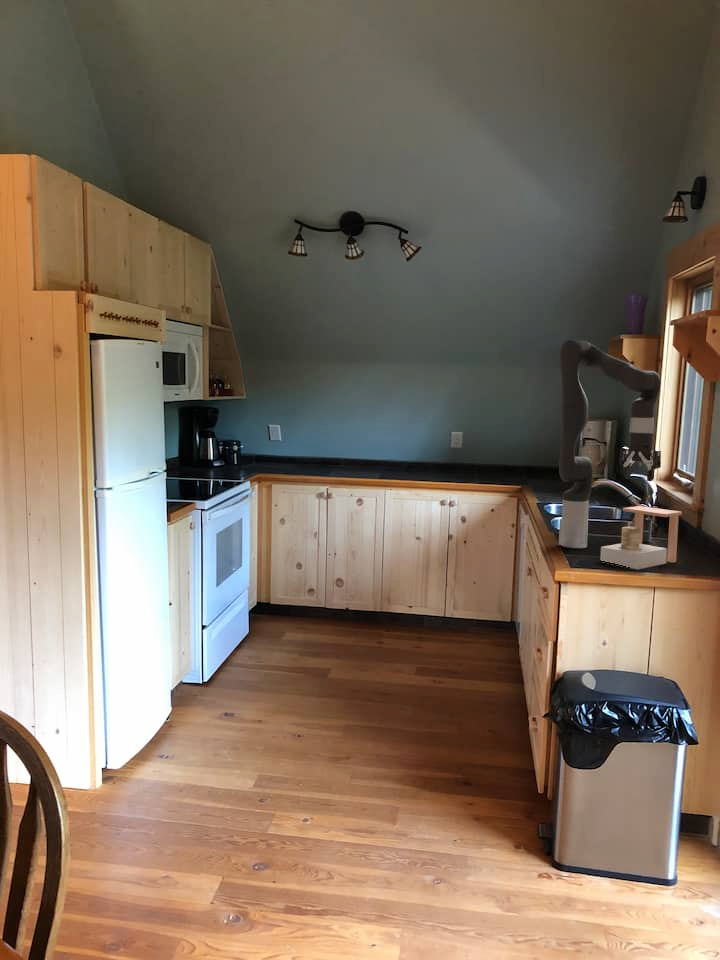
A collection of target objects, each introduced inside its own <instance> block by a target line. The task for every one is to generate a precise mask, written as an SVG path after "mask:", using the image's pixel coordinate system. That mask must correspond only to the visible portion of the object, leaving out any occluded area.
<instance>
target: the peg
mask: <svg viewBox="0 0 720 960" xmlns="http://www.w3.org/2000/svg"><path fill="white" fill-rule="evenodd" d="M639 537H640V528H637V527H633V526H629V525H627V526H623V527H621V540H620V541H621V542H620V544H621V549H626V550H631V551H634V550H639Z"/></svg>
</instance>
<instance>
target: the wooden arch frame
mask: <svg viewBox="0 0 720 960" xmlns="http://www.w3.org/2000/svg"><path fill="white" fill-rule="evenodd" d="M622 511H623V512H627V513H628V512H629V513H633V514H634V517H635V526H634V527H637V528H640V537H639V544H643V543H642V537H643V517H644V514H647V515H650V516H655V517H663V518H668V517H669V520H668V521H669V522H668V523H669V524H668V537H667V538H668V540H667V556H666V563H668V562H669V563H676V562H677V550H678V533H679V532H678V530H679V517H680V516H681V515H683V512H682V511H680V510H673V509H672V510H671V509H664V508H656V507H651V506H650V507H649V506H642V505H637V506H629V507H622Z"/></svg>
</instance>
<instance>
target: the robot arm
mask: <svg viewBox="0 0 720 960" xmlns="http://www.w3.org/2000/svg"><path fill="white" fill-rule="evenodd" d="M559 363H560V372H561V373H560V374H561V444H560V452H559V454H560V455H559V461H558V473H559V476H560V479H561V480H562V481H563V482H566V483H572V482H574V484H573V486H572V487H570V488H569V489H567V490H565V491H564V492H563V494H562V512H561V519H559V526H558V527H559V530H558V531H559V532H558V533H559V534H558V535H559V536H558V545H559V546H561V547H563V548H569V549H585V548H587V547H588V533H589V532H588V529H589V527H588V525H589V502H590V495H591V493H592V484H593V482H592V481H593V472H594V467H593V463H592V460H591V459H590V458H589V457H588V456H576V455H575V453H576V445H577V442H578V439H579V438H580V437H581V434H582V432H583V431H584V430H585V428H586V426H587V423H588V420H589V401H588V398H587V396H586V393H585V391H584V389H583V387H582V385H581V382H580V378H579V367H588V368H593V369H597V370H599V371H600V372H601V373H602V374H603V375H604V376H605V377H607V378H609V379H611V380H613V381H616V382H618V383H620V384H621V385H623V386H624V387H626V388H627V389H628V390H631V391H632V392H636V393H640V395H639V398H637V399H635V400H633V401H632V403H631V411H630V413H631V414H630V422H629V434H628V445H629V447H627V446H624V447H620V452H619V460H618V464H619V465H621V466H623V477H624V478H625V479H630V478H631V475H632V473H631V471H632V466H633V464H634V463H636V462H639V463H643V464H644V465H645V466H646V467H647V472H646V482H652V481H653V480H654V479H655V471H656V470H657V469H661V466H662V465H661V464H662V463H661V462H662V461H661V460H662V451H661V449H655V450H653V445H654V429H655V422H654V421H655V420H654V416H655V405H656V402H657V399H658V396H659V392H660V389H661V385H662V384H661V383H662V381H661V377H660V374H658V373H657V372H656V371H653V370H640V369H636V366H635V365H633V364H631V363H630V362H627V361H624V360H622V359H619V358H617V357H614V356H612V355H609V354H608V353H606V352H604V351H602V350H600V349H599V348H598V347H596V346H595V345H594V344H592V343H590V342H588V341H586V340H580V339H579V340H577V339H576V340H575V339H567V340H565V341H564V342H563V343H562V345H561V348H560V350H559ZM628 454H629V456H628ZM651 456H652V457H651Z"/></svg>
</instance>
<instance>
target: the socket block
mask: <svg viewBox="0 0 720 960" xmlns="http://www.w3.org/2000/svg"><path fill="white" fill-rule="evenodd" d="M667 555H668V548H666V547H660V546H654V545H648V544H645V543H642V544H639V550H634V551H631V550H626V549H621V543H616V544H611V545H604V546H600V560H601V561H605V562H610V563H615V564H619V565H623V566H626V567H625V568H628V567H630V568H629V569H632V570H633V569H634V570H642V569H646V568H651V567H655V566H656V567H657V566H661V565H664V564H667ZM600 560H599V561H600ZM605 562H604V563H605ZM619 565H618V566H619ZM623 566H622V567H623Z"/></svg>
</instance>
